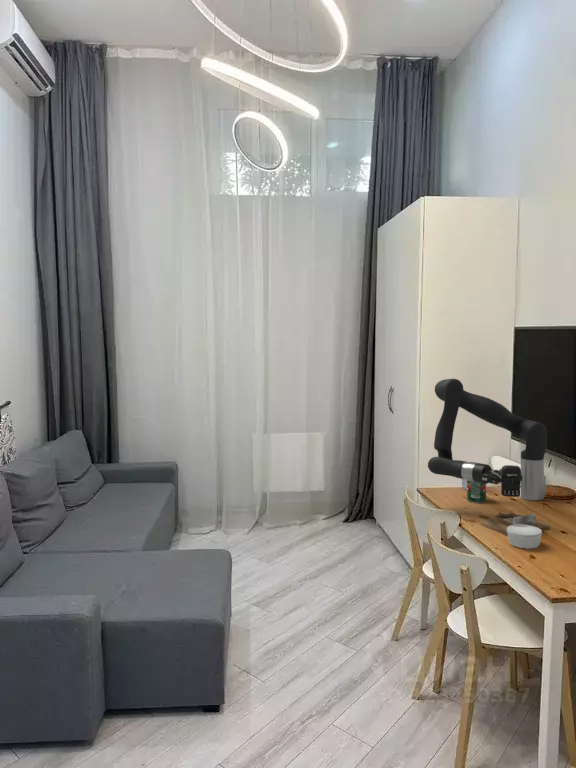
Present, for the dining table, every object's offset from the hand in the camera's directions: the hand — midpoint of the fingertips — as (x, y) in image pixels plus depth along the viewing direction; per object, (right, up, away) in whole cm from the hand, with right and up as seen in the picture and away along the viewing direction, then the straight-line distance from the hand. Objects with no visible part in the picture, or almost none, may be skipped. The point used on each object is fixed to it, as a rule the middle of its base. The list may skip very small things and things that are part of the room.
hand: (517, 479), depth 215 cm
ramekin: (-4, -20, -16) cm, 25 cm away
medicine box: (0, -13, +52) cm, 54 cm away
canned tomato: (-3, -15, +36) cm, 39 cm away
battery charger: (-1, -7, +2) cm, 7 cm away
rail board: (0, -18, +2) cm, 18 cm away
